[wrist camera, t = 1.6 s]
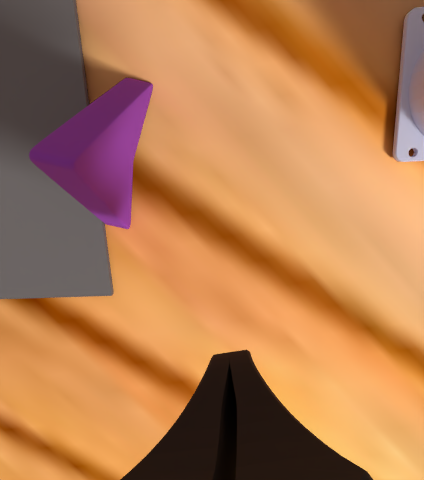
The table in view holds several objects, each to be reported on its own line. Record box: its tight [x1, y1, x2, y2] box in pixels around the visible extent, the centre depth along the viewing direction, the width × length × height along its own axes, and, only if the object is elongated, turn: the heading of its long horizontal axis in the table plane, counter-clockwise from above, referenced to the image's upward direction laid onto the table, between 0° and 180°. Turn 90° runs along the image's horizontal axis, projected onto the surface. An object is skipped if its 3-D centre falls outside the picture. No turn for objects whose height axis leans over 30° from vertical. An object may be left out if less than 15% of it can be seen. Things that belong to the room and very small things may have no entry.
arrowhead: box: [29, 78, 153, 229], centre depth 18 cm, size 10×2×10 cm
